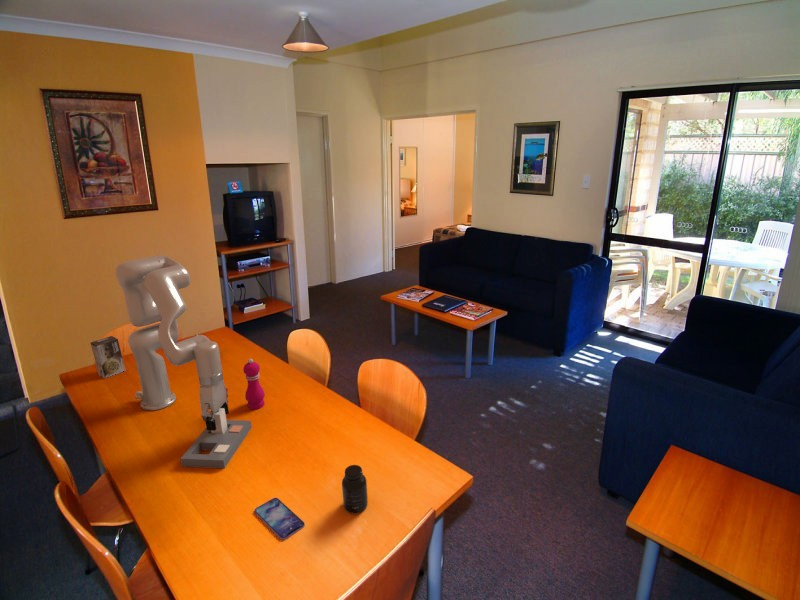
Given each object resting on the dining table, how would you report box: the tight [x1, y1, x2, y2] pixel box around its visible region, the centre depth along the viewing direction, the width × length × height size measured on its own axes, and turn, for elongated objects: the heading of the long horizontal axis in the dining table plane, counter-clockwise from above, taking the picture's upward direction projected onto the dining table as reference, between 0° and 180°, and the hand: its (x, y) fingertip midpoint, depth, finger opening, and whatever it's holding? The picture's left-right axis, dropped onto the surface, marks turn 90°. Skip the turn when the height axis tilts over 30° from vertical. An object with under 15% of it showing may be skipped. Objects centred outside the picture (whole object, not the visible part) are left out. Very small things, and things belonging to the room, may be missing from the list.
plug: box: [208, 408, 228, 434], centre depth 160 cm, size 4×4×12 cm
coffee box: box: [90, 335, 126, 379], centre depth 206 cm, size 9×6×16 cm
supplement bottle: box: [341, 464, 369, 514], centre depth 128 cm, size 7×7×12 cm
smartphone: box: [254, 497, 306, 541], centre depth 125 cm, size 7×1×15 cm
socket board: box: [180, 419, 252, 469], centre depth 156 cm, size 14×22×3 cm, turn 175°
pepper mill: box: [242, 358, 266, 410], centre depth 177 cm, size 7×7×20 cm
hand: (218, 421), depth 160 cm, fingers open, 9 cm apart
